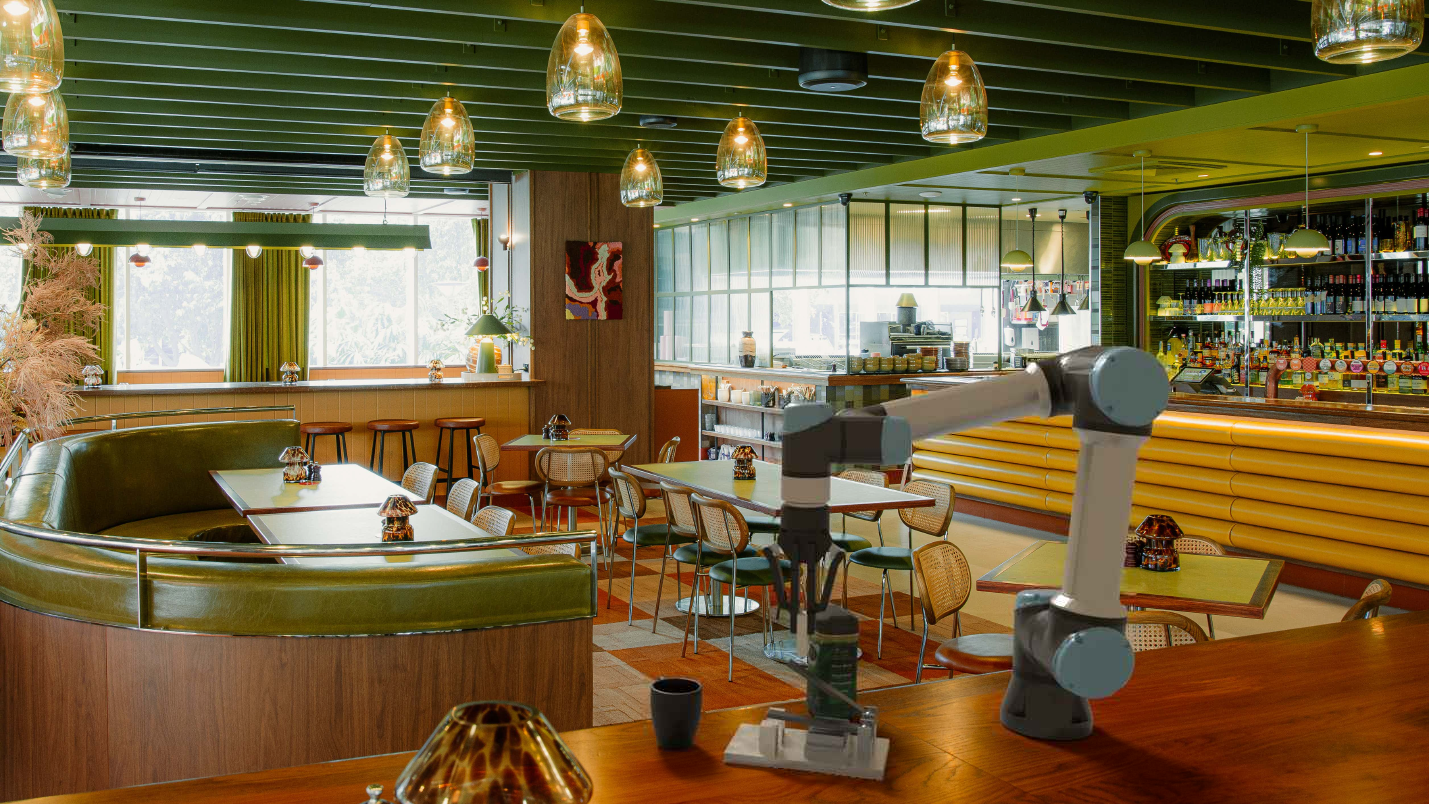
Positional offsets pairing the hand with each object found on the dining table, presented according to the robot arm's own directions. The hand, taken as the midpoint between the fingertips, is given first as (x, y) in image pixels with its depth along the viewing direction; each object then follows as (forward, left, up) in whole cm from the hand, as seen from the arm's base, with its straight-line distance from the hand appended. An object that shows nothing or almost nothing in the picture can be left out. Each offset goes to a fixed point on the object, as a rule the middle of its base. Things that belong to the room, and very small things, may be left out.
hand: (802, 654), depth 168 cm
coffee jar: (-2, -21, -16) cm, 27 cm away
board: (-1, -1, -16) cm, 16 cm away
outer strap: (-3, +2, -10) cm, 11 cm away
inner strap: (-4, -4, -7) cm, 9 cm away
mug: (+21, -1, -16) cm, 26 cm away
